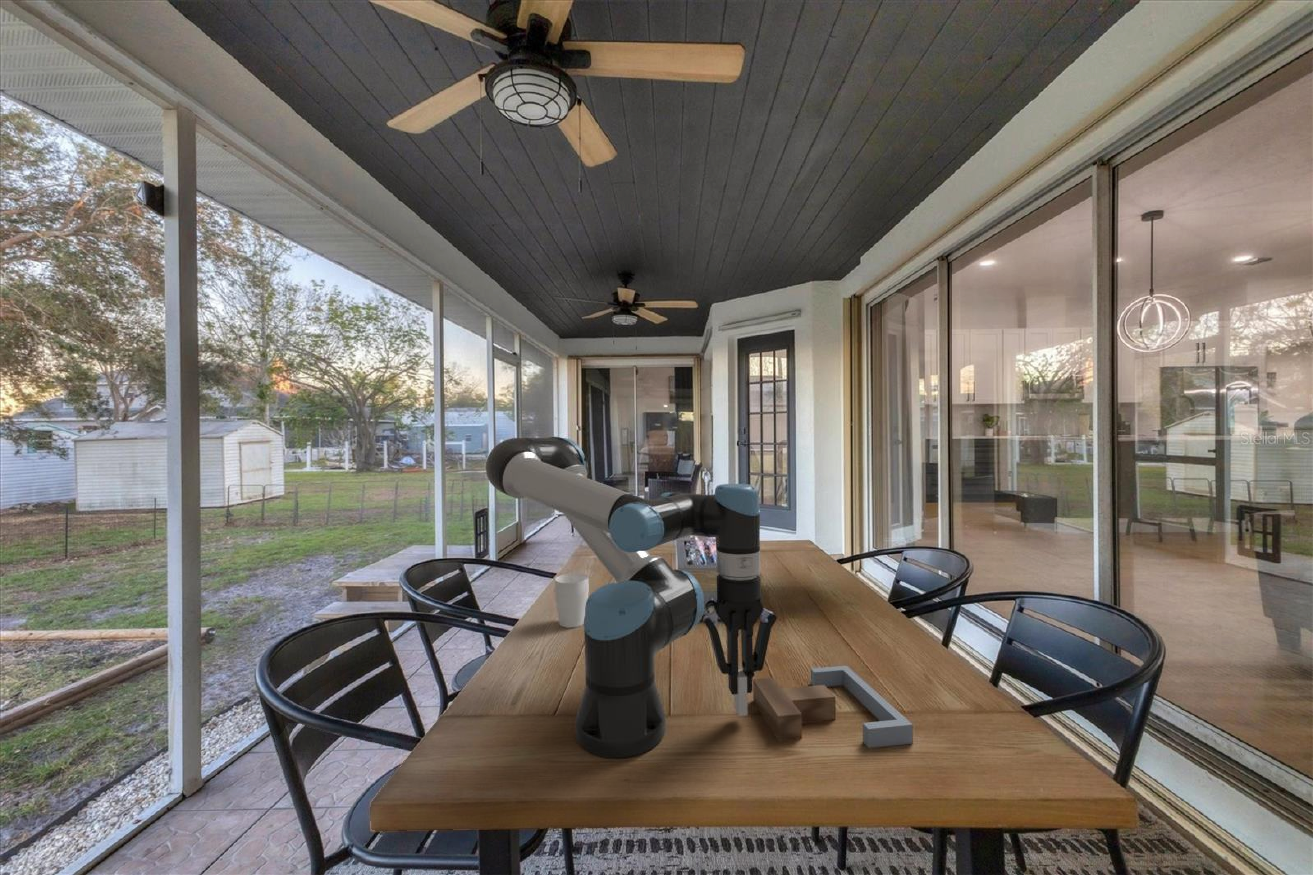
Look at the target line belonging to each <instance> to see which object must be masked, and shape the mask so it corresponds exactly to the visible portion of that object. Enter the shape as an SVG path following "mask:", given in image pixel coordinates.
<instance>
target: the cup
mask: <svg viewBox="0 0 1313 875" xmlns="http://www.w3.org/2000/svg"><path fill="white" fill-rule="evenodd" d="M589 590H590V586H589V576H588V574H587V575H586V574H585V573H575V572H574V573H565V574H561V575H558V576H556V577H555V579H554V596H555V603H556V604H555V605H556V609H557V610H556V611H557V616H558V617H557V618H558V622H559V623H558V624H559V625H560V626H561V627H562V628H566V629H567V628H568V629H571V628H572V629H573V628H578V627H581V626H584V617H585V606H586V601H587V599H588V597H589V593H590V592H589Z"/></svg>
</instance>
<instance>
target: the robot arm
mask: <svg viewBox="0 0 1313 875" xmlns="http://www.w3.org/2000/svg"><path fill="white" fill-rule="evenodd" d="M585 459H586V456H585V454H584V451H583V450H582V448H581V447H580V446H579V444H578V443H576V442H575V441H574V440H572V439H570V438H566V437H559V436H549V437H513V438H509V439H504V440H503V441H501V442H499V443H498V444H496V445H495V446H494V447H493V449H491V451H490V452H489V454H488V456H487V459H486V463H485V473H486V477H487V479H488V481H489V482H490V484H491V485H492V486H493V487H494V488H495V490H498V491H499V492H500V493H503V494H504V495H506V496H509V497H510V498H513V499H519V500H520V499H524V498H527V499H528V500H529V499H530V500H532V501H534V502H537V503H538V504H541V505H543V506H545V507H547V508H550V509H552V510H555V511H557V512H560V513H562V514H563V516H565V518H566V519H567V521H569V523H570V525H571V526H572V527H573V528H574V529H575V531H576V532H577V533H578V534H579V536H580V537H581V538H582V540H583V541H584V543H586V545H587V546H588V548H589V549H590V550H591V551H592V552H593V554H594V555H595V556H596V558H597V559H598V560H599V562H601V564H602V565H603V567H604V568H605V569H606V570H607V571H608V573H609V574H610V576H611V577H612V578H613V580H615V582H610V583H606V584H605V585H602V586H600V587H598V588H596V589H595V590H594V591H592V592H591V594H590V595H588V599H587V601H586V606H585V617H584V624H583V628H584V632H583V633H584V662H585V663H584V665H585V668H584V670H585V686H584V689H583V693H582V696H581V699H580V701H579V702H580V703H579V705H578V709H577V712H576V716H575V739H576V741H577V743H578V744H579V745H580V747H582V748H583V750H586V751H587V752H589V753H590V754H593V755H596V756H599V757H604V758H612V759H614V758H615V759H622V758H629V757H634V756H638V755H641V754H644V753H646V752H648V751H650V750H652V749H653V748H655V747H656V746H657V745H658V744H659V743H660V742H661V741H662V740H663V738H664V736H665V733H666V713H665V712H666V711H665V708H664V706H663V702H662V699H661V697H660V694H659V691H658V688H657V685H656V681H655V678H656V677H655V656H656V655H655V654H656V653H657V652H659V651H660V650H662V649H663V648H665V647H667V646H668V645H670V644H672V643H673V642H675V641H676V640H678V639H679V638H682V637H683V636H686V635H687V634H688V633H690V631H691V630H692V629H693V628H695V627H697V625H698V624H699V623H700V621H701V620H702V622H703V624H704V625H705V626H706V628H707V630H708V634H709V637H710V641H711V645H712V648H713V653H714V656H715V661H716V665H717V667H718V669H719V670H720V672H721V674H723V675H727V676H728V677H727V678H728V690H729V691H730V692H729V693H730V694H731V695H732V696H733V695H734V697H733V700H734V702H733V704H734V710H735V711H736V714H737V715H738V716H739V717H742V716H748V713H749V712H748V694H752V692H753V679H754V677H755V672H757V671H758V672H761V671H763V669H764V664H765V660H766V655H767V650H768V645H769V642H770V637H771V636H770V635H771V631H772V628H773V626H774V624H775V623H776V621H777V619H778V617H777V615H776V614H774V612H773V611H772V610H770V609H766V608H765V607H764V603H763V601H762V582H761V581H762V578H761V577H760V575H759V574H760V573H761V545H760V543H761V538H760V536H761V535H760V532H761V529H760V528H761V519H760V518H761V509H760V500H759V490H758V489H757V487H756V486H754V485H752V484H747V483H746V484H745V483H724V484H718V485H717V486H716V487H715V489H714V494H703V493H688V492H687V493H686V492H682V491H676V492H664V493H662V494H661V495H660V496H659V497H658V498H655V499H646V498H643V497H640V496H637V495H635V494H632V493H630V492H628V491H624V490H621V489H618V488H616V487H613V486H611V485H607V484H605V483H603V482H602V483H601V482H599V481H596V480H593V479H591V478H588V469H587V461H585ZM688 536H695V537H705V538H706V537H707V538H715V548H716V550H715V552H716V553H715V555H716V556H715V558H716V559H715V560H716V562H715V563H716V565H715V567H716V569H715V570H716V572H717V573H718V574H717V575H716V602H715V604H714V606H713V607H714V608H713V609H714V610H713V611H711V612H710V613H708V614H706V613H705V614H704V608H705V605H704V604H705V603H704V600H705V597H704V592H703V590H702V587H701V584H700V583H699V582H698V580H697V578H696V577H695V576H694V575H693V574H691V573H690V572H688V571H687V570H683V569H682V570H681V569H673V567H672V566H671V565H670V564H669V563H668V562H667V561H666V559H664V557H662V556H652V555H651V554H650V552H649V551H650V550H651V549H653V548H655V547H658V546H661V545H664V544H666V543H669V542H673V541H676V540H679V539H682V538H685V537H688ZM718 618H719V619H720V621H721V622H722V624H724V626H725V630H726V649H727V650H726V652H727V653H726V654H727V656H726V657H727V658H726V657H725V652H724V648H723V646H722V641H721V637H720V633H719V631H718V628H717V626H718V625H719V621H718ZM759 619H760V621H759V624H758V630H757V634H756V639H755V643H754V644H753V636H754V626H755V625H756V623H757V621H758V620H759ZM739 632H740V636H741V637H740V639H741V640H740V641H741V644H740V645H741V669H739V639H738V638H739ZM753 645H754V648H753ZM726 660H727V661H726Z"/></svg>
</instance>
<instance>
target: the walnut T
mask: <svg viewBox="0 0 1313 875" xmlns="http://www.w3.org/2000/svg"><path fill="white" fill-rule="evenodd" d="M752 692H753V695H752V696H753V700H754V701H753V702H754V705H755V706H756V705H757V706H756V707H757V709H758V710H759V712H760V713H761V715H762V717H763V716H764V717H763V718H764V720H765V719H766V720H765V722H766V721H767V722H766V723H767V725H768V724H769V725H768V726H769V728H770V730H771V729H772V730H771V732H774V733H773V734H774V737H775V738H776V740H777V741H779V742H780V741H790V740H798V739H797V738H801V739H803V723H802V722H806V723H811V722H810V721H816V722H821V721H820V720H826V721H831V720H830V719H836V720H837V716H836V715H837V713H836V695H835V694H834V693H833V692H832V691H831V690H830V689H829V688H828V687H826V686H825V685H816V686H812V685H808V686H807V685H806V686H798V687H797V686H796V687H785V688H783V687H782V686H781V685H780V684H779V682H778V681H777V680H776V678H775V677H763V678H752Z"/></svg>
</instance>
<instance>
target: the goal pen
mask: <svg viewBox="0 0 1313 875" xmlns="http://www.w3.org/2000/svg"><path fill="white" fill-rule="evenodd" d="M810 685H811V686H816V685H825V686H826V687H827V688H828V687H838V686H843V687H844V688H845V689H847V691H849V693H851V694H852V696H853V697H855V699H856V700H857V701H859V702H860V703H861V704H862V705H863V706H864V707H865V709H867V711H869V712H870V713H871V714H872V715H873V716H874V717H875V718H876V719H877V720H878V721H870V722H862V743H864V745H865V746H866V747H867V748H868V749H873V748H883V747H892V746H899V745H909V744H914V727H913V726H914V724H913V723H912V722H911V721H910V720H908V719H907V718H906V717H905V716H904V715H903V714H902V713H900V712H899V711H898V710H897V709H896V708H895V706H893V705H891V704H890V703H889V702H888V701H887V700H886V699H885V698H884V697H882V696H881V694H879V693H878V692H877V691H876V690H875V689H873V688H872V686H870V685H869V684H868V683H867V682H866V681H864V679H862V678H861V677H860V676H859V675H858V674H857V673H856V672H855V671H853V670H852V669H851V668H850V667H849V666H848V665H838V666H825V667H824V666H823V667H814V668H813V667H812V668H810Z"/></svg>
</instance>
